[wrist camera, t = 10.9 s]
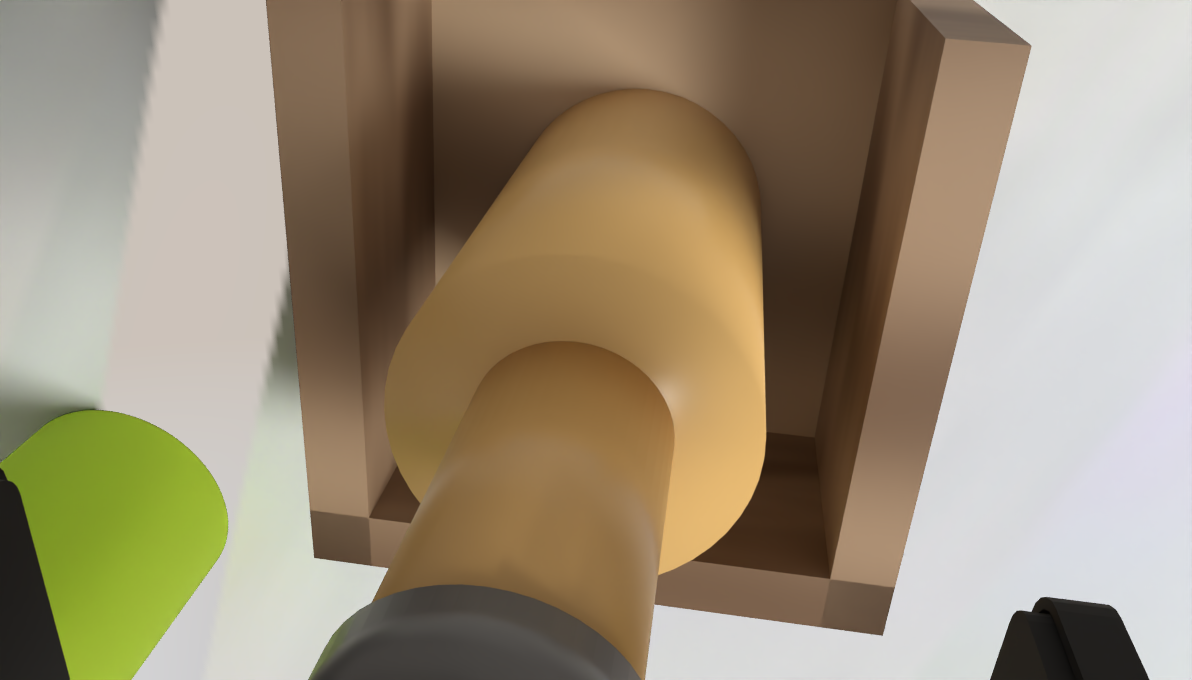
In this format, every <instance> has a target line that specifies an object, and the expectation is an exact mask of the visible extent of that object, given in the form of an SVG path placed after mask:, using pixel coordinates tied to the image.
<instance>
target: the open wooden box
mask: <svg viewBox="0 0 1192 680" xmlns="http://www.w3.org/2000/svg"><path fill="white" fill-rule="evenodd" d="M266 6H267V18H268V29H269V40H270V52H271V63H272V75H273V87H274V98H275V110H276V121H277V133H278V145H279V156H280V167H281V179H282V191H283V202H284V214H285V226H286V237H287V249H288V260H289V272H290V283H291V295H292V306H293V318H294V330H295V341H296V353H297V364H298V376H299V387H300V399H301V410H302V422H303V434H304V445H305V457H306V468H307V480H308V491H309V503H310V514H311V526H312V538H313V549H314V558H319V559H326V560H334V561H341V562H348V563H356V564H363V565H370V566H378V567H385V568H389V567H390V565H391V563H392V561H393V559H394V557H395V555H396V552H397V550H398V548H399V546H400V544H401V542H402V540H403V538H404V536H405V534H406V532H407V530H408V528H409V526H410V524H411V522H412V520H413V518H414V516H415V514H416V512H417V510H418V508H419V506H420V502H419V501H418V500H417V498H416V497H415V496H414V494H413V493H412V492H411V490H410V488H409V487H408V485H407V483H406V481H405V480H404V478H403V476H402V474H401V473H400V470H399V468H398V465H397V463H396V461H395V458H394V456H393V453H392V450H391V446H390V443H389V439H388V435H387V431H386V422H385V413H384V399H385V385H386V380H387V375H388V369H389V366H390V363H391V360H392V357H393V355H394V352H395V349H396V347H397V345H398V343H399V341H400V339H401V338H402V336H403V334H404V332H405V330H406V328H407V327H408V325H409V324H410V323H411V321H412V320H413V318H414V317H415V315H416V314H417V312H418V311H419V310H420V308H421V307H422V305H423V304H424V302H425V301H426V299H427V298H428V297H429V295H430V294H431V292H432V291H433V289H434V288H435V286H436V285H437V284H438V282H439V281H440V279H441V278H442V276H443V275H444V273H445V272H446V271H447V269H448V268H449V266H450V265H451V263H452V262H453V260H454V259H455V257H456V256H457V255H458V253H459V252H460V250H461V249H462V247H463V246H464V244H465V243H466V242H467V240H468V239H469V237H470V236H471V234H472V233H473V231H474V230H475V229H476V227H477V226H478V224H479V223H480V221H481V220H482V218H483V217H484V216H485V214H486V213H487V211H488V210H489V208H490V207H491V205H492V204H493V203H494V201H495V200H496V198H497V197H498V195H499V194H500V192H501V191H502V190H503V188H504V187H505V185H506V184H507V182H508V181H509V179H510V178H511V176H512V175H513V174H514V172H515V171H516V169H517V168H518V166H519V165H520V163H521V162H522V161H523V159H524V158H525V156H526V155H527V153H528V152H529V150H530V149H531V148H532V146H533V145H534V143H535V142H536V140H537V139H538V138H539V136H540V135H541V134H542V132H543V131H544V130H545V129H546V128H547V127H548V126H549V125H550V124H551V123H552V122H553V121H554V120H555V119H556V118H557V117H558V116H559V115H561V114H562V113H563V112H565V111H566V110H567V109H569V108H570V107H572V106H574V105H576V104H577V103H579V102H581V101H583V100H585V99H588V98H590V97H593V96H595V95H598V94H602V93H606V92H610V91H614V90H623V89H650V90H656V91H663V92H667V93H670V94H673V95H677V96H680V97H683V98H685V99H687V100H689V101H691V102H694V103H696V104H698V105H699V106H701V107H702V108H704V109H706V110H707V111H709V112H710V113H712V114H713V115H714V116H715V117H717V118H718V119H719V120H720V121H721V122H723V123H724V124H725V125H726V126H727V128H728V129H729V130H730V131H731V132H732V133H733V134H734V135H735V136H736V138H737V139H738V141H739V142H740V143H741V145H742V146H743V148H744V149H745V151H746V153H747V155H748V157H749V159H750V161H751V163H752V166H753V168H754V171H755V174H756V177H757V181H758V186H759V191H760V201H761V229H762V273H763V316H764V360H765V403H766V445H765V457H764V462H763V466H762V470H761V474H760V478H759V481H758V483H757V486H756V488H755V490H754V493H753V495H752V498H751V500H750V501H749V503H748V505H747V506H746V508H745V509H744V511H743V513H742V514H741V516H740V517H739V519H738V520H737V521H736V522H735V523H734V525H733V526H732V527H731V528H730V529H729V531H728V532H727V533H726V534H725V535H724V536H723V537H722V538H720V539H719V540H718V541H717V542H716V543H715V544H714V545H713V546H712V547H710V548H709V549H707V550H706V551H705V552H703V553H702V554H700V555H699V556H697V557H696V558H694V559H693V560H691V561H689V562H687V563H685V564H683V565H681V566H679V567H677V568H675V569H673V570H671V571H668V572H665V573H662V574H660V575H658V579H657V587H656V595H655V603H654V604H655V605H663V606H670V607H677V608H685V609H692V610H699V611H707V612H714V613H721V614H728V615H736V616H743V617H750V618H758V619H765V620H772V621H780V622H787V623H794V624H802V625H809V626H816V627H823V628H831V629H838V630H845V631H853V632H860V633H867V634H875V635H882V636H883V632H884V628H885V624H886V620H887V616H888V612H889V608H890V604H891V600H892V596H893V592H894V588H895V584H896V580H897V577H898V573H899V569H900V565H901V561H902V557H903V553H904V549H905V545H906V541H907V537H908V533H909V529H910V525H911V521H912V517H913V513H914V509H915V505H916V501H917V497H918V493H919V489H920V485H921V481H922V478H923V474H924V470H925V466H926V462H927V458H928V454H929V450H930V446H931V442H932V438H933V434H934V430H935V426H936V422H937V418H938V414H939V410H940V406H941V402H942V398H943V394H944V390H945V386H946V382H947V378H948V375H949V371H950V367H951V363H952V359H953V355H954V351H955V347H956V343H957V339H958V335H959V331H960V327H961V323H962V319H963V315H964V311H965V307H966V303H967V299H968V295H969V291H970V287H971V283H972V279H973V275H974V272H975V268H976V264H977V260H978V256H979V252H980V248H981V244H982V240H983V236H984V232H985V228H986V224H987V220H988V216H989V212H990V208H991V204H992V200H993V196H994V192H995V188H996V184H997V180H998V176H999V172H1000V169H1001V165H1002V161H1003V157H1004V153H1005V149H1006V145H1007V141H1008V137H1009V133H1010V129H1011V125H1012V121H1013V117H1014V113H1015V109H1016V105H1017V101H1018V97H1019V93H1020V89H1021V85H1022V81H1023V77H1024V73H1025V69H1026V66H1027V62H1028V58H1029V54H1030V50H1031V45H1030V44H1029V43H1027V42H1026V41H1025V40H1023V39H1022V38H1021V37H1020V36H1018V35H1017V34H1016V33H1014V32H1013V31H1012V30H1011V29H1009V28H1008V27H1007V26H1005V25H1004V24H1003V23H1002V22H1000V21H999V20H998V19H997V18H995V17H994V16H993V15H991V14H990V13H989V12H988V11H986V10H985V9H984V8H982V7H981V6H980V5H979V4H977V3H976V2H975V1H973V0H266Z"/></svg>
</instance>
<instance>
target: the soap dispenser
mask: <svg viewBox="0 0 1192 680" xmlns="http://www.w3.org/2000/svg"><path fill="white" fill-rule="evenodd" d="M0 468H1V469H2V470H3V471H4V473H5V476H6V478H7V480H8V481H12V482H13V483H14V484H15V485H16V486H17V487H18V489H19V492H20V494H21V498H22V502H23V505H24V509H25V513H26V517H27V520H28V524H29V528H30V531H31V535H32V539H33V543H34V546H35V550H36V554H37V557H38V561H39V565H40V569H41V572H42V576H43V580H44V583H45V587H46V591H47V594H48V598H49V602H50V606H51V609H52V613H53V617H54V620H55V624H56V628H57V632H58V635H59V639H60V643H61V646H62V650H63V654H64V658H65V661H66V665H67V669H68V672H69V676H70V680H131V679H132V678H133V677H134V675H135V674H136V672H137V671H138V670H139V668H140V667H141V666H142V664H143V663H144V661H145V660H146V658H147V657H148V656H149V654H150V653H151V652H152V650H153V649H154V648H155V646H156V645H157V643H158V642H159V641H160V639H161V638H162V636H163V635H164V634H165V632H166V631H167V629H168V628H169V627H170V625H171V624H172V622H173V621H174V619H175V618H176V617H177V615H178V614H179V613H180V611H181V610H182V608H183V607H184V605H185V604H186V603H187V602H188V600H189V599H190V597H191V596H192V594H193V593H194V591H195V590H196V589H197V588H198V586H199V585H200V583H201V582H202V581H203V579H204V578H205V576H206V575H207V574H208V572H209V571H210V569H211V568H212V567H213V565H214V564H215V562H216V561H217V560H218V558H219V557H220V555H221V553H222V551H223V549H224V546H225V543H226V539H227V534H228V515H227V509H226V506H225V502H224V499H223V496H222V493H221V491H220V489H219V487H218V485H217V483H216V481H215V480H214V478H213V476H212V475H211V473H210V472H209V470H208V469H207V468H206V466H205V465H204V464H203V463H202V462H201V461H200V459H199V458H198V457H197V456H196V455H195V454H194V453H193V452H192V451H191V450H190V449H189V448H188V447H186V446H185V445H184V444H183V443H182V442H180V441H179V440H178V439H176V438H175V437H173V436H172V435H170V434H169V433H167V432H166V431H164V430H162V429H161V428H159V427H157V426H155V425H153V424H151V423H149V422H146V421H144V420H142V419H139V418H136V417H133V416H130V415H126V414H122V413H118V412H112V411H104V410H85V411H77V412H73V413H69V414H65V415H63V416H60V417H58V418H55V419H54V420H52V421H50V422H48V423H47V424H46V425H44V426H43V427H42V428H41V429H39V430H38V431H37V432H36V433H35V434H34V435H32V436H31V437H30V438H29V439H28V440H27V441H25V442H24V443H23V444H22V445H21V446H20V447H18V448H17V449H16V450H15V451H14V452H13V453H11V454H10V455H9V456H8V457H7V458H6V459H4V460H3V461H2V462H1V463H0Z"/></svg>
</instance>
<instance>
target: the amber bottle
mask: <svg viewBox="0 0 1192 680" xmlns="http://www.w3.org/2000/svg"><path fill="white" fill-rule="evenodd" d="M384 413H385V422H386V431H387V435H388V439H389V443H390V446H391V450H392V453H393V456H394V458H395V461H396V463H397V465H398V468H399V470H400V473H401V474H402V476H403V478H404V480H405V481H406V483H407V485H408V487H409V488H410V490H411V492H412V493H413V494H414V496H415V497H416V498H417V500H418V501H419V502H420V506H419V508H418V510H417V512H416V514H415V516H414V518H413V520H412V522H411V524H410V526H409V528H408V530H407V532H406V534H405V536H404V538H403V540H402V542H401V544H400V546H399V548H398V550H397V552H396V555H395V557H394V559H393V561H392V563H391V565H390V567H389V569H388V571H387V573H386V575H385V577H384V579H383V581H382V583H381V585H380V587H379V589H378V591H377V593H376V595H375V597H374V599H373V601H372V603H371V604H369V605H367V606H365V607H364V608H362V609H360V610H359V611H357V612H356V613H355V614H354V615H352V616H351V617H350V618H349V619H347V620H346V621H345V622H344V623H343V624H342V625H341V626H340V627H339V629H338V630H337V631H336V632H335V633H334V634H333V635H332V637H331V639H330V640H329V642H328V644H327V645H326V647H325V649H324V650H323V652H322V654H321V656H320V658H319V660H318V662H317V664H316V666H315V668H314V670H313V672H312V673H311V675H310V677H309V679H308V680H645V674H646V667H647V659H648V651H649V643H650V635H651V627H652V619H653V611H654V603H655V595H656V587H657V579H658V575H660V574H662V573H665V572H668V571H671V570H673V569H675V568H677V567H679V566H681V565H683V564H685V563H687V562H689V561H691V560H693V559H694V558H696V557H697V556H699V555H700V554H702V553H703V552H705V551H706V550H707V549H709V548H710V547H712V546H713V545H714V544H715V543H716V542H717V541H718V540H719V539H720V538H722V537H723V536H724V535H725V534H726V533H727V532H728V531H729V529H730V528H731V527H732V526H733V525H734V523H735V522H736V521H737V520H738V519H739V517H740V516H741V514H742V513H743V511H744V509H745V508H746V506H747V505H748V503H749V501H750V500H751V498H752V495H753V493H754V490H755V488H756V486H757V483H758V481H759V478H760V474H761V470H762V466H763V462H764V457H765V445H766V403H765V360H764V316H763V273H762V229H761V201H760V191H759V186H758V181H757V177H756V174H755V171H754V168H753V166H752V163H751V161H750V159H749V157H748V155H747V153H746V151H745V149H744V148H743V146H742V145H741V143H740V142H739V141H738V139H737V138H736V136H735V135H734V134H733V133H732V132H731V131H730V130H729V129H728V128H727V126H726V125H725V124H724V123H723V122H721V121H720V120H719V119H718V118H717V117H715V116H714V115H713V114H712V113H710V112H709V111H707V110H706V109H704V108H702V107H701V106H699V105H698V104H696V103H694V102H691V101H689V100H687V99H685V98H683V97H680V96H677V95H673V94H670V93H667V92H663V91H656V90H650V89H623V90H614V91H610V92H606V93H602V94H598V95H595V96H593V97H590V98H588V99H585V100H583V101H581V102H579V103H577V104H576V105H574V106H572V107H570V108H569V109H567V110H566V111H565V112H563V113H562V114H561V115H559V116H558V117H557V118H556V119H555V120H554V121H553V122H552V123H551V124H550V125H549V126H548V127H547V128H546V129H545V130H544V131H543V132H542V134H541V135H540V136H539V138H538V139H537V140H536V142H535V143H534V145H533V146H532V148H531V149H530V150H529V152H528V153H527V155H526V156H525V158H524V159H523V161H522V162H521V163H520V165H519V166H518V168H517V169H516V171H515V172H514V174H513V175H512V176H511V178H510V179H509V181H508V182H507V184H506V185H505V187H504V188H503V190H502V191H501V192H500V194H499V195H498V197H497V198H496V200H495V201H494V203H493V204H492V205H491V207H490V208H489V210H488V211H487V213H486V214H485V216H484V217H483V218H482V220H481V221H480V223H479V224H478V226H477V227H476V229H475V230H474V231H473V233H472V234H471V236H470V237H469V239H468V240H467V242H466V243H465V244H464V246H463V247H462V249H461V250H460V252H459V253H458V255H457V256H456V257H455V259H454V260H453V262H452V263H451V265H450V266H449V268H448V269H447V271H446V272H445V273H444V275H443V276H442V278H441V279H440V281H439V282H438V284H437V285H436V286H435V288H434V289H433V291H432V292H431V294H430V295H429V297H428V298H427V299H426V301H425V302H424V304H423V305H422V307H421V308H420V310H419V311H418V312H417V314H416V315H415V317H414V318H413V320H412V321H411V323H410V324H409V325H408V327H407V328H406V330H405V332H404V334H403V336H402V338H401V339H400V341H399V343H398V345H397V347H396V349H395V352H394V355H393V357H392V360H391V363H390V366H389V369H388V375H387V380H386V385H385V399H384Z"/></svg>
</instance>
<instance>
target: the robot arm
mask: <svg viewBox="0 0 1192 680" xmlns="http://www.w3.org/2000/svg"><path fill="white" fill-rule="evenodd" d="M0 680H70V676H69V672H68V669H67V665H66V661H65V658H64V654H63V650H62V646H61V643H60V639H59V635H58V632H57V628H56V624H55V620H54V617H53V613H52V609H51V606H50V602H49V598H48V594H47V591H46V587H45V583H44V580H43V576H42V572H41V569H40V565H39V561H38V557H37V554H36V550H35V546H34V543H33V539H32V535H31V531H30V528H29V524H28V520H27V517H26V513H25V509H24V505H23V502H22V498H21V494H20V492H19V489H18V487H17V486H16V485H15V484H14V483H13V482H12V481H8V480H7V478H6V476H5V473H4V471H3V470H2V469H1V468H0ZM990 680H1149V678H1148V676H1147V673H1146V671H1145V669H1144V667H1143V665H1142V663H1141V660H1140V658H1139V656H1138V654H1137V652H1136V649H1135V647H1134V645H1133V643H1132V641H1131V639H1130V636H1129V634H1128V632H1127V630H1126V628H1125V626H1124V623H1123V621H1122V619H1121V617H1120V616H1119V614H1118V613H1117V611H1116V609H1114V608H1113V607H1111V606H1110V605H1105V604H1097V603H1089V602H1081V601H1074V600H1066V599H1058V598H1050V597H1043V598H1040V599H1039V600H1038V601H1037V602H1036V603H1035V606H1034V608H1033V610H1032V612H1028V611H1016V612H1015V613H1014V614H1013V616H1012V618H1011V621H1010V623H1009V626H1008V629H1007V632H1006V635H1005V638H1004V641H1003V644H1002V647H1001V650H1000V652H999V655H998V658H997V661H996V664H995V667H994V670H993V673H992V676H991V679H990Z"/></svg>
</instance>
